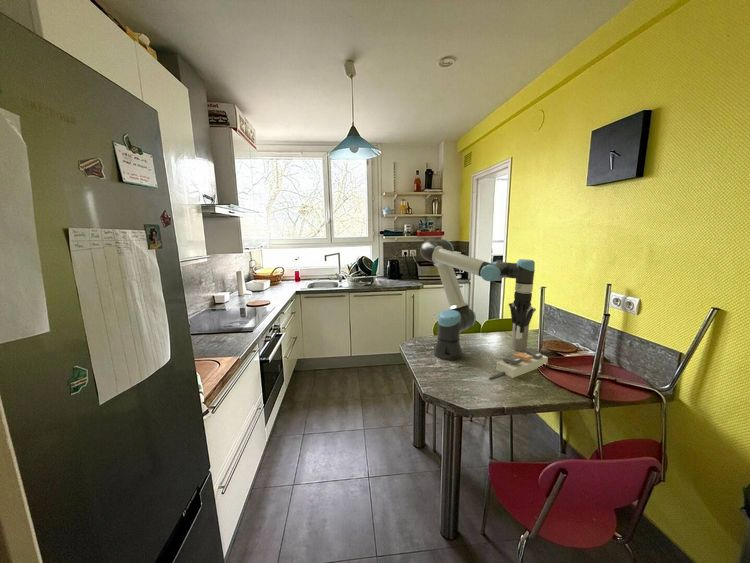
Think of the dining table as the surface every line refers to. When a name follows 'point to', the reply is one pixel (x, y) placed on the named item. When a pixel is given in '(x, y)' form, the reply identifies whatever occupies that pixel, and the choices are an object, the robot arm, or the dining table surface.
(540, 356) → the rocker
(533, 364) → the power strip
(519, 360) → the rocker
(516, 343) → the thermos bottle
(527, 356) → the orange flat block
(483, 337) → the dining table surface
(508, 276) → the robot arm
